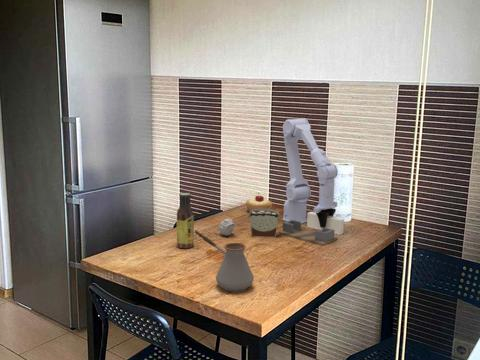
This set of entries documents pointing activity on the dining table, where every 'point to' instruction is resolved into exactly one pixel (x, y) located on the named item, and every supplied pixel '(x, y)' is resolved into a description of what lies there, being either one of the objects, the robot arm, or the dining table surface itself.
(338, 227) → the slat
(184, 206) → the sauce bottle
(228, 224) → the crumpled paper ball
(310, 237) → the base board
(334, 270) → the dining table surface
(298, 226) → the end caps
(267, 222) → the food container
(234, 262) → the coffee pot
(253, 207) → the pastry
